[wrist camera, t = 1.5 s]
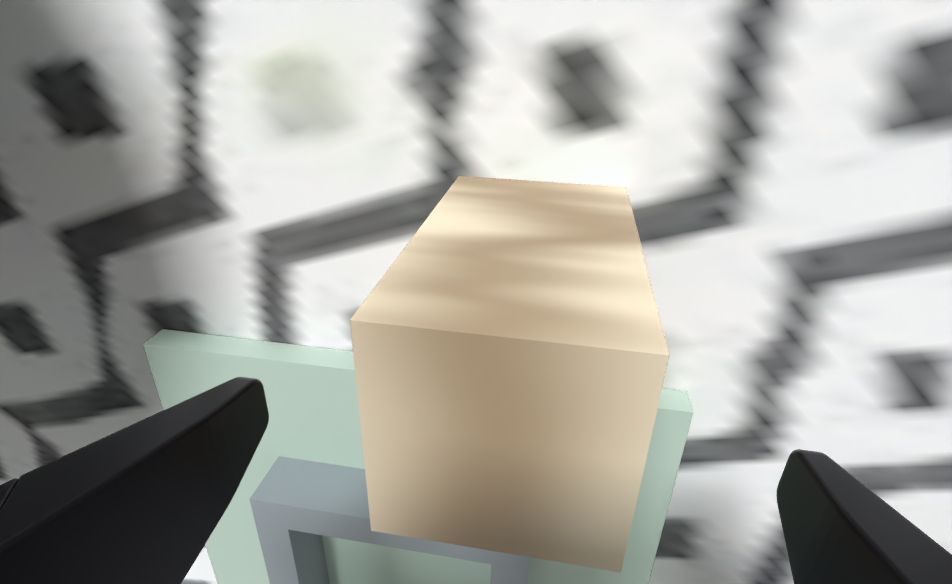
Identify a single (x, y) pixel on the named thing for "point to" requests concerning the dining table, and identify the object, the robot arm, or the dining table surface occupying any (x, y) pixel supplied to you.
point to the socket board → (361, 479)
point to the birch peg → (512, 373)
